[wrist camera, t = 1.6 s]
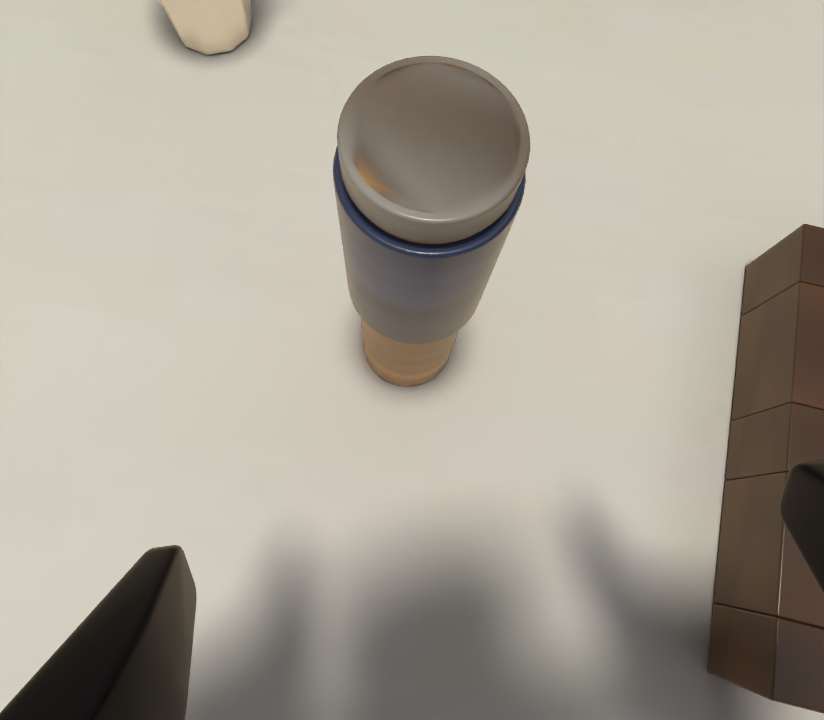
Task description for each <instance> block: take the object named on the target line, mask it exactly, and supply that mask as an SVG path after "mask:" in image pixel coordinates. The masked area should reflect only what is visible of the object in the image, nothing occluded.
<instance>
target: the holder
mask: <svg viewBox="0 0 824 720" xmlns="http://www.w3.org/2000/svg"><path fill="white" fill-rule="evenodd" d="M731 420H732V422H731V428H730V438H729V449H728V459H727V469H726V480H727V481H726V482H725V491H724V501H723V512H722V522H721V532H720V542H719V553H718V563H717V573H716V584H715V594H714V602H715V603H716V604H714V606H713V616H712V626H711V637H710V647H709V657H708V668H707V671H708V673H710V674H712V675H715V676H717V677H719V678H721V679H724V680H726V681H728V682H731V683H733V684H735V685H738V686H740V687H742V688H745V689H747V690H749V691H751V692H754V693H756V694H758V695H761V696H763V697H765V698H768V699H770V700H772V701H776V702H780V703H784V704H788V705H792V706H796V707H800V708H804V709H808V710H812V711H816V712H820V713H824V593H823V591H822V590H821V588H820V586H819V584H818V582H817V581H816V579H815V577H814V575H813V574H812V572H811V570H810V568H809V567H808V565H807V563H806V561H805V559H804V558H803V556H802V554H801V552H800V551H799V549H798V547H797V545H796V544H795V542H794V540H793V538H792V537H791V535H790V533H789V531H788V529H787V528H786V526H785V524H784V522H783V520H782V518H781V515H780V510H779V503H780V499H781V496H782V493H783V490H784V487H785V484H786V481H787V478H788V475H789V471H790V469H791V468H792V467H793V466H794V465H795V464H797V463H801V462H808V461H816V460H823V461H824V228H821V227H816V226H812V225H808V224H803V225H802V226H800V227H799V228H798V229H796V230H795V231H794V232H792V233H791V234H789V235H788V236H787V237H785V238H784V239H783V240H781V241H780V242H778V243H777V244H776V245H774V246H773V247H772V248H770V249H769V250H767V251H766V252H765V253H763V254H762V255H761V256H759V257H758V258H757V259H755V260H754V261H752V262H751V263H750V264H748V265H747V266H746V275H745V285H744V295H743V306H742V317H741V326H740V336H739V346H738V357H737V367H736V377H735V388H734V398H733V408H732V418H731Z"/></svg>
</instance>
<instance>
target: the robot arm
mask: <svg viewBox="0 0 824 720" xmlns="http://www.w3.org/2000/svg"><path fill="white" fill-rule="evenodd" d="M779 510H780V515H781V518H782V520H783V522H784V524H785V526H786V528H787V529H788V531H789V533H790V535H791V537H792V538H793V540H794V542H795V544H796V545H797V547H798V549H799V551H800V552H801V554H802V556H803V558H804V559H805V561H806V563H807V565H808V567H809V568H810V570H811V572H812V574H813V575H814V577H815V579H816V581H817V582H818V584H819V586H820V588H821V590H822V591H823V593H824V461H823V460H816V461H808V462H801V463H797V464H795V465H794V466H793V467H792V468H791V469H790V471H789V475H788V478H787V481H786V484H785V487H784V490H783V493H782V496H781V499H780V503H779ZM195 611H196V587H195V583H194V580H193V577H192V574H191V571H190V568H189V566H188V563H187V560H186V557H185V554H184V551H183V550H182V548H181V547H180V546H177V545H172V546H164V547H157V548H152V549H150V550H148V551H147V552H146V553H144V555H143V556H142V557H141V558H140V559H139V560H138V561H137V562H136V563H135V564H134V566H133V567H132V568H131V569H130V570H129V571H128V572H127V573H126V574H125V576H124V577H123V578H122V579H121V580H120V581H119V582H118V583H117V584H116V585H115V587H114V588H113V589H112V590H111V591H110V592H109V593H108V594H107V595H106V597H105V598H104V599H103V600H102V601H101V602H100V603H99V604H98V605H97V606H96V608H95V609H94V610H93V611H92V612H91V613H90V614H89V615H88V616H87V618H86V619H85V620H84V621H83V622H82V623H81V624H80V625H79V626H78V627H77V629H76V630H75V631H74V632H73V633H72V634H71V635H70V636H69V637H68V639H67V640H66V641H65V642H64V643H63V644H62V645H61V646H60V647H59V648H58V650H57V651H56V652H55V653H54V654H53V655H52V656H51V657H50V658H49V660H48V661H47V662H46V663H45V664H44V665H43V666H42V667H41V668H40V669H39V671H38V672H37V673H36V674H35V675H34V676H33V677H32V678H31V679H30V681H29V682H28V683H27V684H26V685H25V686H24V687H23V688H22V689H21V690H20V692H19V693H18V694H17V695H16V696H15V697H14V698H13V699H12V700H11V702H10V703H9V704H8V705H7V706H6V707H5V708H4V709H3V710H2V711H1V713H0V720H185V714H186V707H187V698H188V688H189V677H190V666H191V655H192V644H193V633H194V622H195Z"/></svg>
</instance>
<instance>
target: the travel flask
mask: <svg viewBox="0 0 824 720" xmlns="http://www.w3.org/2000/svg"><path fill="white" fill-rule="evenodd" d="M337 144H338V145H337V148H336V152H335V156H334V163H333V179H334V187H335V194H336V201H337V209H338V216H339V223H340V230H341V237H342V244H343V252H344V259H345V266H346V273H347V280H348V287H349V292H350V297H351V300H352V302H353V305H354V307H355V309H356V311H357V312H358V314H359V315H360V316H361V324H362V334H363V344H364V352H365V356H366V359H367V361H368V363H369V365H370V366H371V368H372V369H373V371H374V372H375V373H376V374H377V375H379V376H380V377H381V378H382V379H384V380H386V381H388V382H390V383H392V384H396V385H400V386H415V385H420V384H422V383H425V382H427V381H429V380H431V379H432V378H434V377H435V376H436V375H437V374H438V373H439V372H440V371H441V370H442V369H443V367H444V366H445V364H446V362H447V360H448V357H449V355H450V352H451V349H452V347H453V344H454V341H455V339H456V336H457V333H458V331H459V329H460V328H462V327H463V326H464V325H465V324H466V323H467V322H468V320H469V319H470V318H471V317H472V315H473V314H474V312H475V310H476V308H477V306H478V304H479V301H480V299H481V297H482V294H483V292H484V290H485V287H486V285H487V282H488V280H489V278H490V275H491V273H492V271H493V268H494V266H495V263H496V261H497V259H498V256H499V254H500V252H501V249H502V247H503V245H504V242H505V240H506V237H507V235H508V233H509V230H510V228H511V226H512V223H513V221H514V218H515V216H516V214H517V211H518V209H519V207H520V204H521V201H522V198H523V194H524V189H525V182H526V177H525V170H526V167H527V163H528V160H529V153H530V136H529V129H528V125H527V122H526V119H525V116H524V113H523V111H522V109H521V107H520V105H519V103H518V102H517V100H516V99H515V97H514V96H513V95H512V93H511V92H510V91H509V90H508V89H507V88H506V87H505V86H504V85H503V84H502V83H501V82H500V81H499V80H498V79H496V78H495V77H494V76H492V75H491V74H489V73H488V72H486V71H484V70H483V69H481V68H479V67H477V66H475V65H472V64H470V63H467V62H464V61H461V60H457V59H453V58H448V57H440V56H419V57H412V58H406V59H403V60H399V61H396V62H393V63H391V64H388V65H386V66H384V67H382V68H380V69H378V70H376V71H375V72H373V73H372V74H371V75H369V76H368V77H367V78H365V79H364V80H363V81H362V82H361V83H360V84H359V85H358V86H357V87H356V89H355V90H354V91H353V92H352V94H351V95H350V97H349V98H348V100H347V102H346V104H345V105H344V108H343V110H342V113H341V115H340V119H339V124H338V131H337Z"/></svg>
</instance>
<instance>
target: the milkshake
mask: <svg viewBox="0 0 824 720" xmlns="http://www.w3.org/2000/svg"><path fill="white" fill-rule="evenodd" d="M159 1H160V3H161V4H162V6H163V8H164V10H165V12H166V14H167V16H168V18H169V20H170V22H171V24H172V26H173V27H174V29H175V31H176V32H177V34H178V35H179V37H180V39H181V40H182V42H183V44H184V45H185V46H186V47H188V48H191V49H194V50H196V51H199V52H201V53H204V54H206V55H209V54H215V53H221V52H228V51H232V50H233V49H234V48H235V47H236V46H238V45H239V44H240V43H241V42H242V41H243V40H245V39H246V38H247V37H248V35H249V30H250V24H251V19H252V13H251V7H250V0H159Z"/></svg>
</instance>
